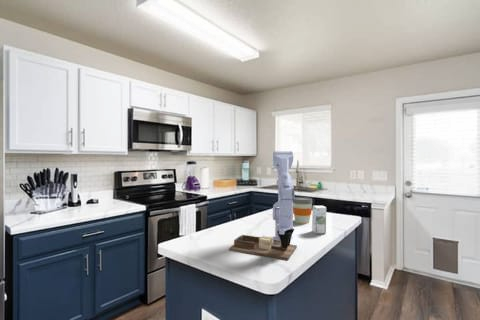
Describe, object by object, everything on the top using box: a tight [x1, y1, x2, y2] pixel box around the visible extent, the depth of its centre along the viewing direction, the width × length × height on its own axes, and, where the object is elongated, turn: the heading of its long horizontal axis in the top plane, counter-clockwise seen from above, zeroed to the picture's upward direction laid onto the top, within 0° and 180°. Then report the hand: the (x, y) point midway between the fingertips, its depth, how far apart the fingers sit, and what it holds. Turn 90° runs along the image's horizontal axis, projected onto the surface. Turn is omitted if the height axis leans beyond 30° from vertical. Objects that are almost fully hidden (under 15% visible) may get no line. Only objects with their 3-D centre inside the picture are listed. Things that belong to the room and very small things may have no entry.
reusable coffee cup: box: [292, 196, 313, 224], centre depth 165 cm, size 13×13×15 cm
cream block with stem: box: [259, 235, 287, 251], centre depth 113 cm, size 5×12×5 cm, turn 66°
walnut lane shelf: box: [229, 234, 298, 261], centre depth 115 cm, size 16×26×4 cm, turn 66°
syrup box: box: [311, 205, 327, 235], centre depth 141 cm, size 6×6×14 cm
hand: (285, 246), depth 111 cm, fingers closed on cream block with stem, 3 cm apart
